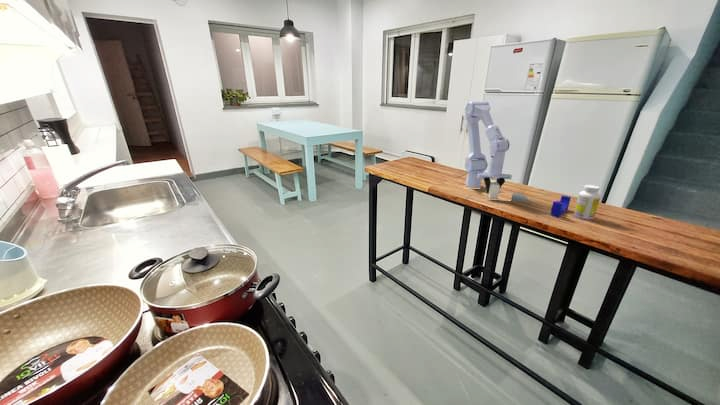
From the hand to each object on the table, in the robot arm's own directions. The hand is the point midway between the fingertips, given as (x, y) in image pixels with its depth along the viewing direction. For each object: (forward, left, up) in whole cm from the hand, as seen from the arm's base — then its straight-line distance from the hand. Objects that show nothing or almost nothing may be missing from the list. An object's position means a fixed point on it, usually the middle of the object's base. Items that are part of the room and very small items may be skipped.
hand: (491, 192), depth 135 cm
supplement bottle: (+19, +31, -2) cm, 36 cm away
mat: (0, +6, -2) cm, 6 cm away
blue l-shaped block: (+15, +23, -3) cm, 27 cm away
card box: (0, 0, -2) cm, 2 cm away
